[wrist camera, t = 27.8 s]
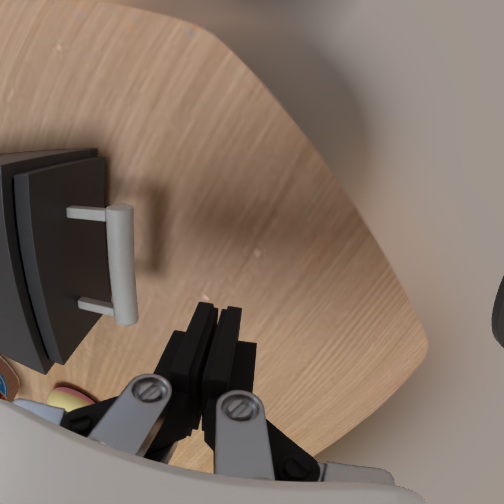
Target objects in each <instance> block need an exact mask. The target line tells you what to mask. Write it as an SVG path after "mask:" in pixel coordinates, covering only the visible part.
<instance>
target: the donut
mask: <svg viewBox="0 0 504 504" xmlns="http://www.w3.org/2000/svg"><path fill="white" fill-rule="evenodd" d="M94 403H95V402H94V401H92V400H91V399H90V398H88V397H87V396H85V395H84V394H82V393H80V392H78V391H76V390H73V389H70V388H66V387H58V388H55V389H53V390H52V391H51V392H50V393H49V395H48V399H47V404H48V405H51V406H56V407H60V408H65V410H66V411H67V412H70V411H72V410H74V409H77V408H81V407H84V406H87V405H91V404H94Z"/></svg>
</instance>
